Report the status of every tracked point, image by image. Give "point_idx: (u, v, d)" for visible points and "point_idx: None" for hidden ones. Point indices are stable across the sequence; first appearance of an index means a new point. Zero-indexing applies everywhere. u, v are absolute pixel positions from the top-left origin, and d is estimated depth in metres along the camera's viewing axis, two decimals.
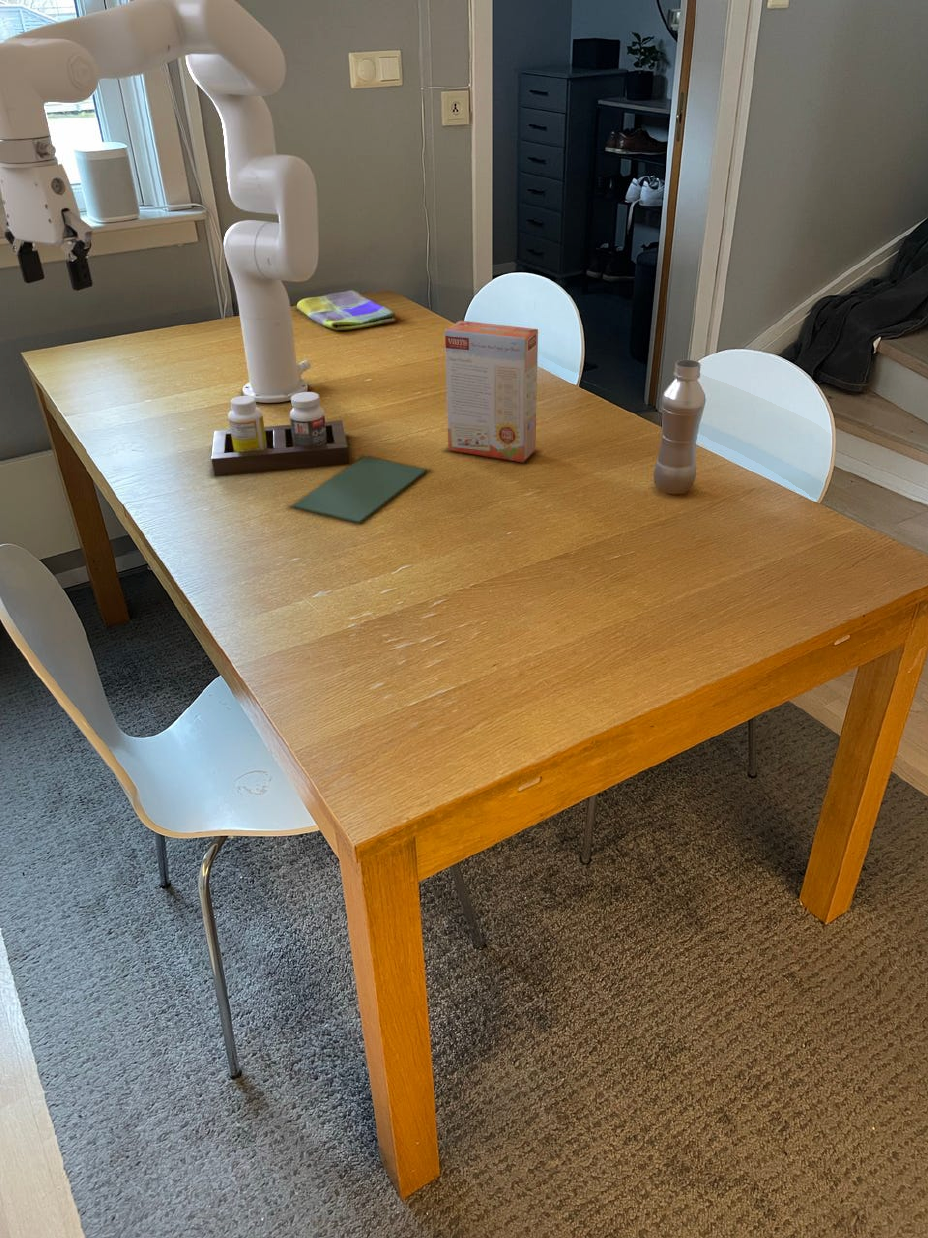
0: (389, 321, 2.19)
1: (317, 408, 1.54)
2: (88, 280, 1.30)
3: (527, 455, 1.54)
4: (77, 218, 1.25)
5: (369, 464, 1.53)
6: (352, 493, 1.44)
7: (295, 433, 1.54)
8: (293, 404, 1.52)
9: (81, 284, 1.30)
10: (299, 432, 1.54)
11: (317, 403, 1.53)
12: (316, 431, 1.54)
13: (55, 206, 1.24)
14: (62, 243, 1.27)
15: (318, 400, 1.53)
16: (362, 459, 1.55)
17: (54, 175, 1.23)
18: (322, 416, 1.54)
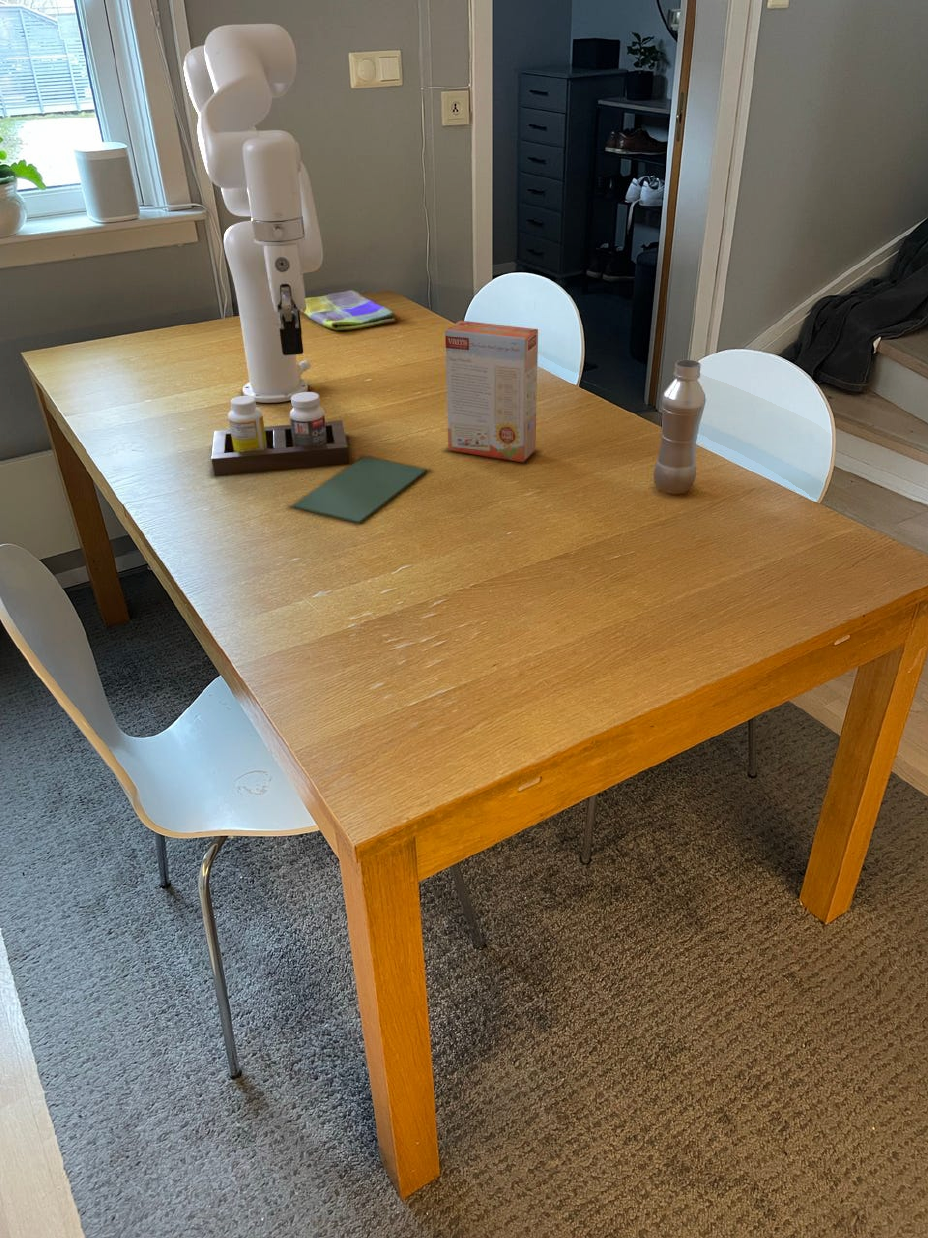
0: (389, 321, 2.19)
1: (317, 408, 1.54)
2: (295, 348, 1.42)
3: (527, 455, 1.54)
4: (287, 295, 1.37)
5: (369, 464, 1.53)
6: (352, 493, 1.44)
7: (295, 433, 1.54)
8: (293, 404, 1.52)
9: (290, 350, 1.43)
10: (299, 432, 1.54)
11: (317, 403, 1.53)
12: (316, 431, 1.54)
13: (275, 281, 1.37)
14: (278, 313, 1.40)
15: (318, 400, 1.53)
16: (362, 459, 1.55)
17: (280, 254, 1.36)
18: (322, 416, 1.54)
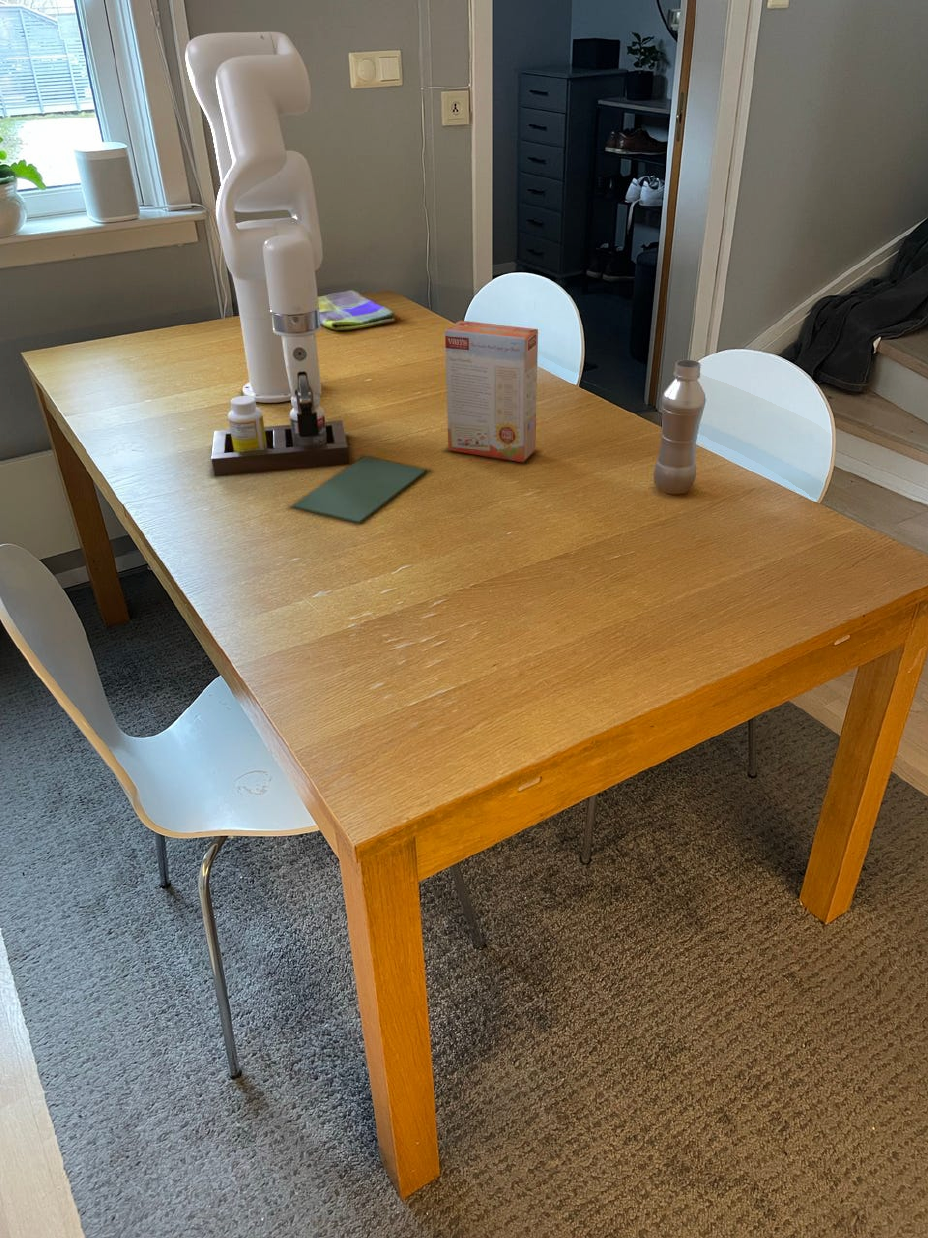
0: (389, 321, 2.19)
1: (317, 408, 1.54)
2: (311, 431, 1.52)
3: (527, 455, 1.54)
4: (305, 387, 1.46)
5: (369, 464, 1.53)
6: (352, 493, 1.44)
7: (295, 433, 1.54)
8: (293, 404, 1.52)
9: None
10: None
11: (317, 403, 1.53)
12: None
13: (292, 369, 1.45)
14: None
15: (318, 400, 1.53)
16: (362, 459, 1.55)
17: (298, 345, 1.44)
18: (322, 416, 1.54)
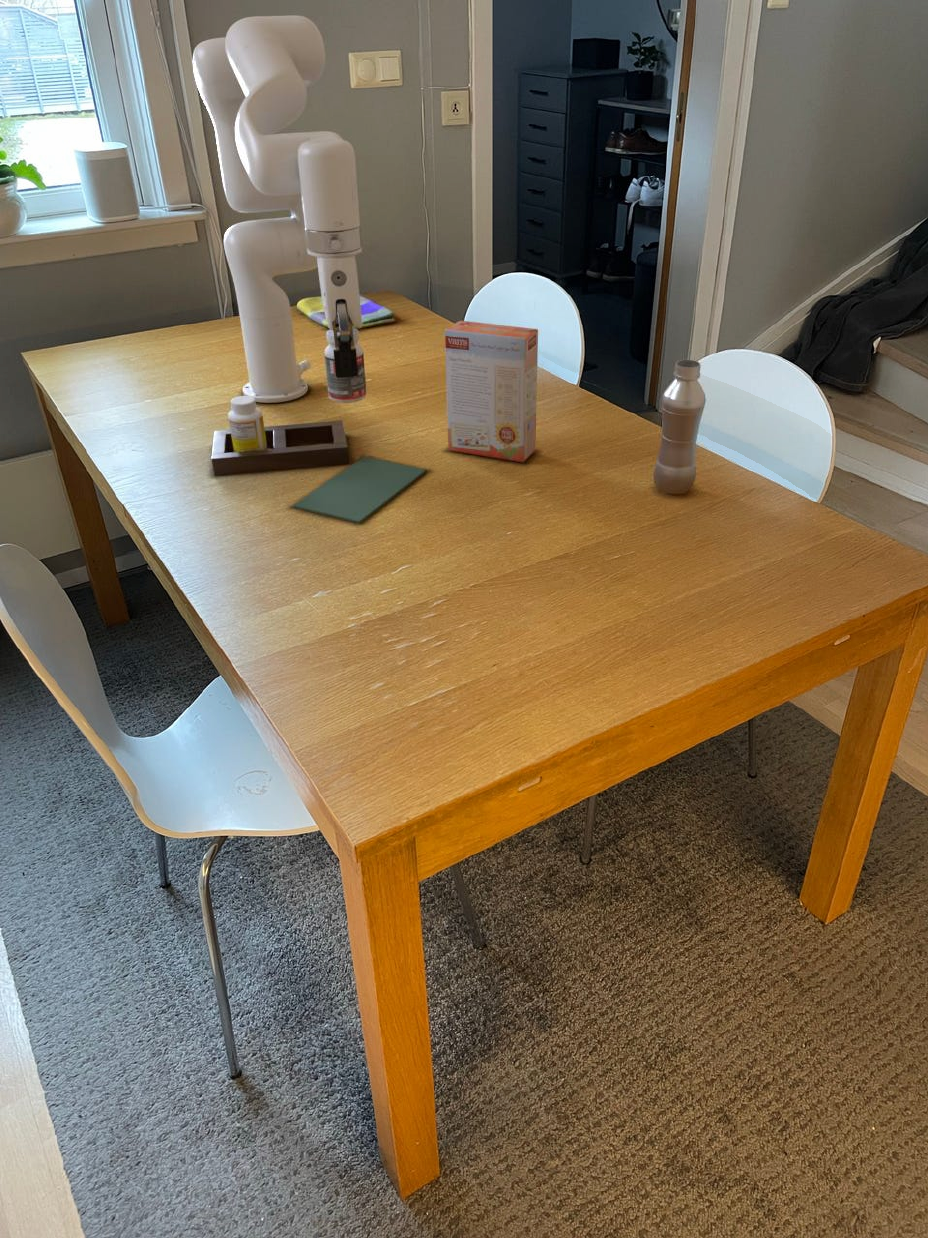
0: (389, 321, 2.19)
1: (356, 345, 1.35)
2: (349, 371, 1.33)
3: (527, 455, 1.54)
4: (344, 317, 1.27)
5: (369, 464, 1.53)
6: (352, 493, 1.44)
7: (331, 373, 1.36)
8: (329, 340, 1.34)
9: (344, 373, 1.34)
10: (335, 372, 1.35)
11: (356, 339, 1.34)
12: None
13: (330, 296, 1.27)
14: (333, 333, 1.31)
15: (357, 335, 1.34)
16: (362, 459, 1.55)
17: (337, 267, 1.25)
18: (361, 354, 1.35)
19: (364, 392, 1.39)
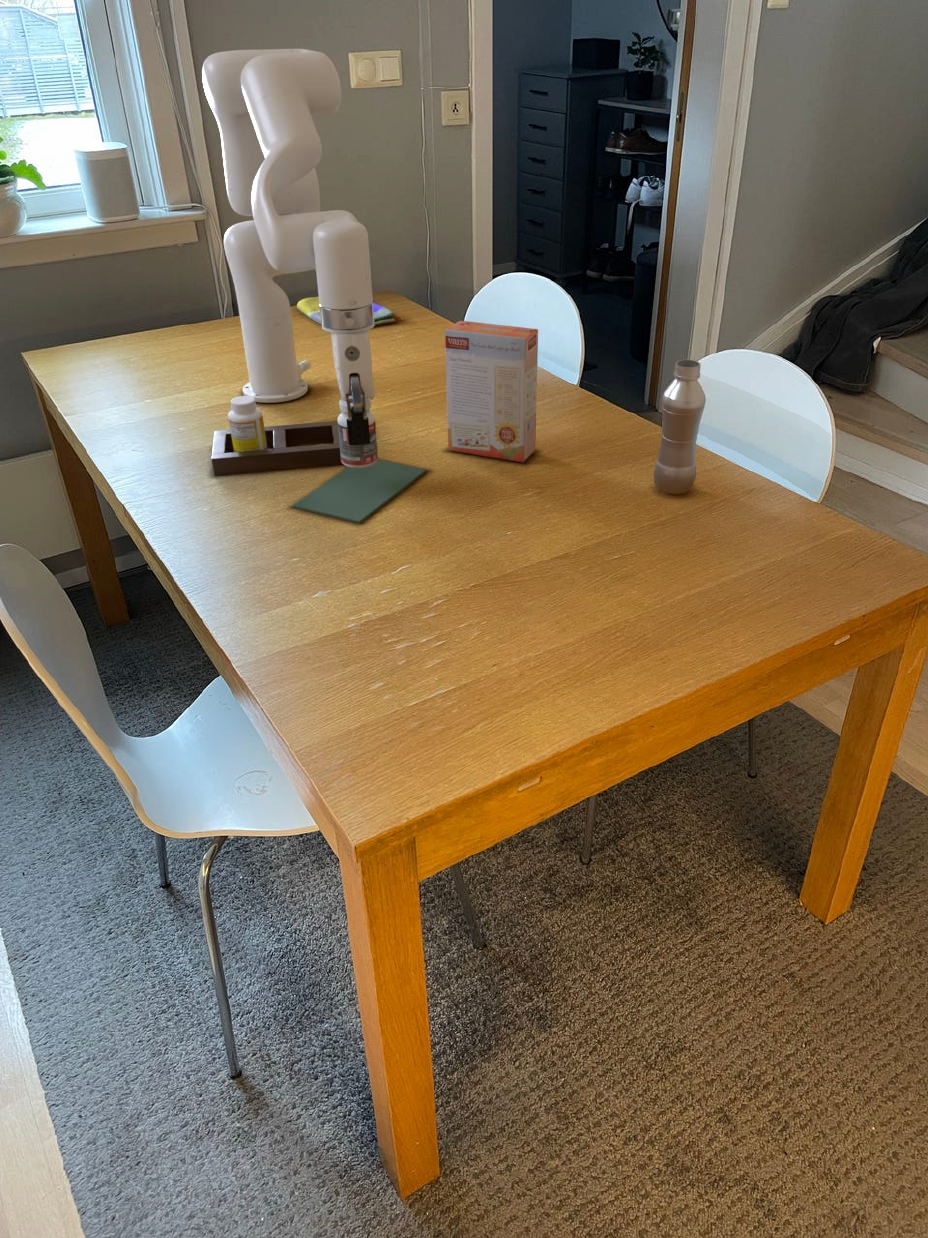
0: (389, 321, 2.19)
1: (368, 413, 1.39)
2: (362, 439, 1.38)
3: (527, 455, 1.54)
4: (357, 391, 1.31)
5: None
6: (352, 493, 1.44)
7: (344, 440, 1.40)
8: (342, 409, 1.38)
9: (356, 441, 1.38)
10: None
11: (368, 408, 1.38)
12: None
13: (344, 370, 1.31)
14: None
15: (369, 404, 1.38)
16: None
17: (350, 343, 1.29)
18: (373, 422, 1.40)
19: (376, 457, 1.43)
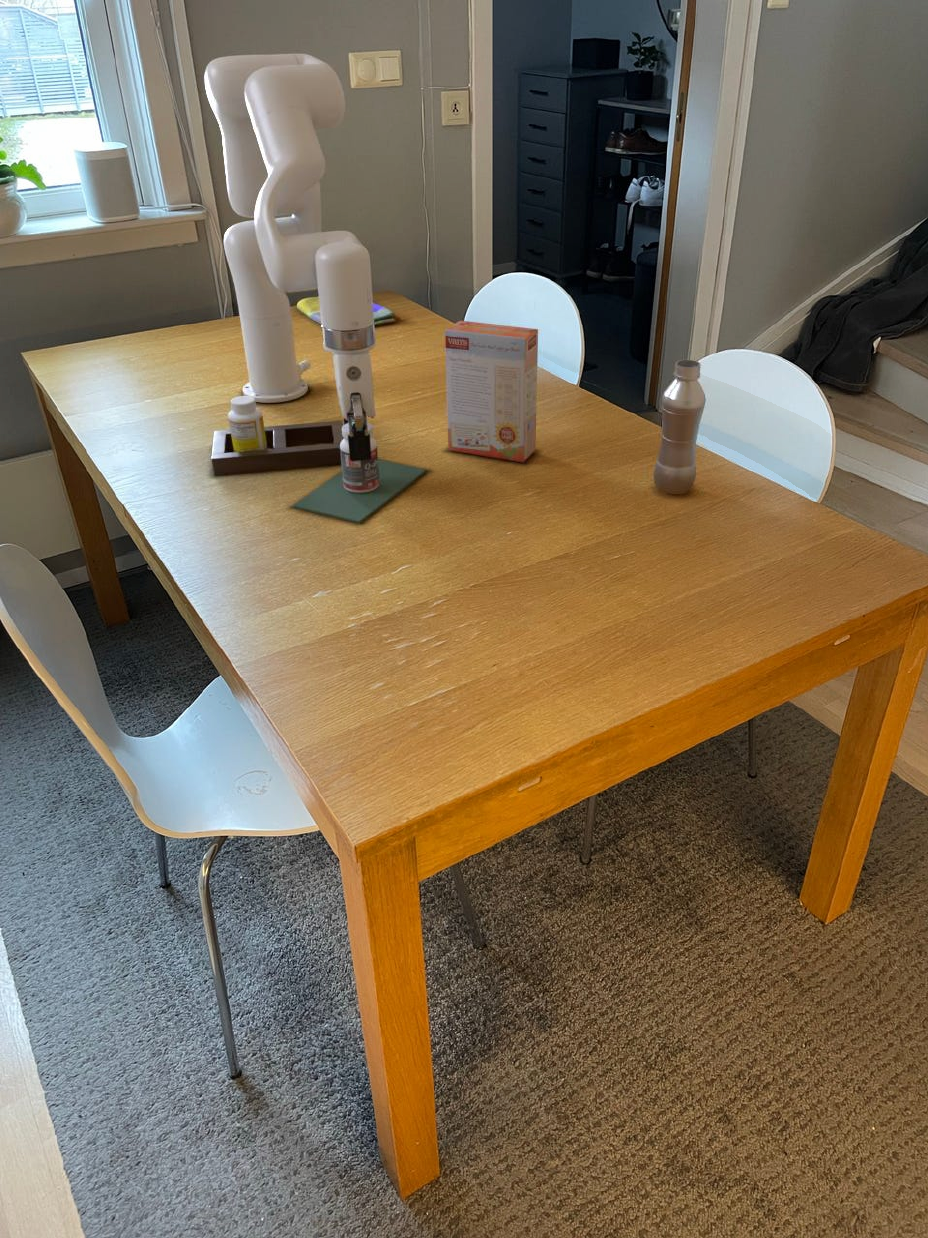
0: (389, 321, 2.19)
1: (370, 439, 1.41)
2: (363, 455, 1.38)
3: (527, 455, 1.54)
4: (358, 404, 1.32)
5: None
6: (352, 493, 1.44)
7: (346, 466, 1.42)
8: (344, 435, 1.40)
9: (358, 456, 1.38)
10: (350, 465, 1.42)
11: (370, 434, 1.40)
12: (369, 464, 1.42)
13: (345, 390, 1.32)
14: (347, 420, 1.35)
15: (371, 431, 1.41)
16: None
17: (352, 363, 1.31)
18: (375, 448, 1.42)
19: (377, 482, 1.45)
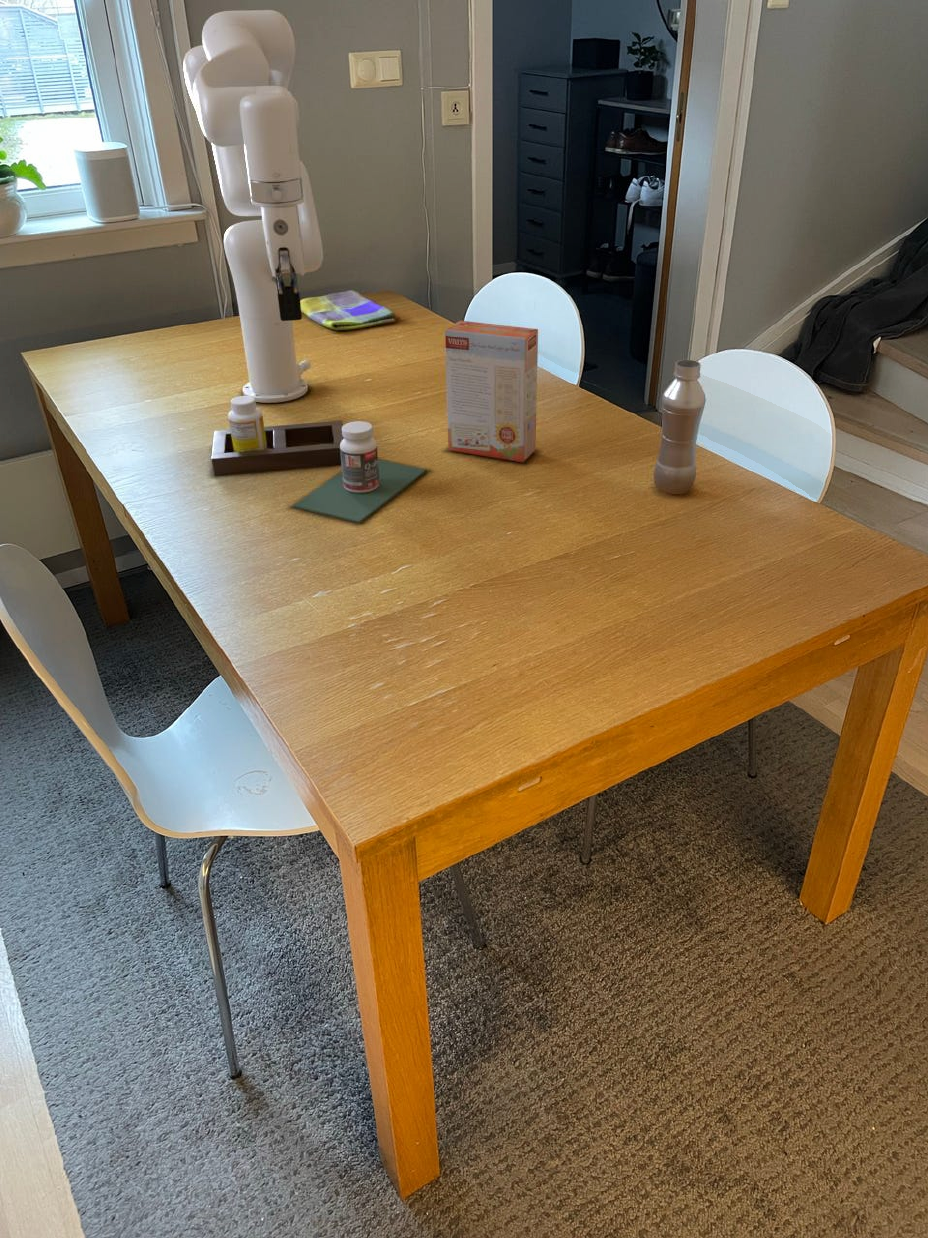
0: (389, 321, 2.19)
1: (370, 439, 1.41)
2: (293, 314, 1.39)
3: (527, 455, 1.54)
4: (286, 259, 1.34)
5: None
6: (352, 493, 1.44)
7: (346, 466, 1.42)
8: (344, 435, 1.40)
9: None
10: (350, 465, 1.42)
11: (370, 434, 1.40)
12: (369, 464, 1.42)
13: (273, 244, 1.34)
14: (277, 277, 1.37)
15: (371, 431, 1.41)
16: None
17: (279, 216, 1.32)
18: (375, 448, 1.42)
19: (377, 482, 1.45)
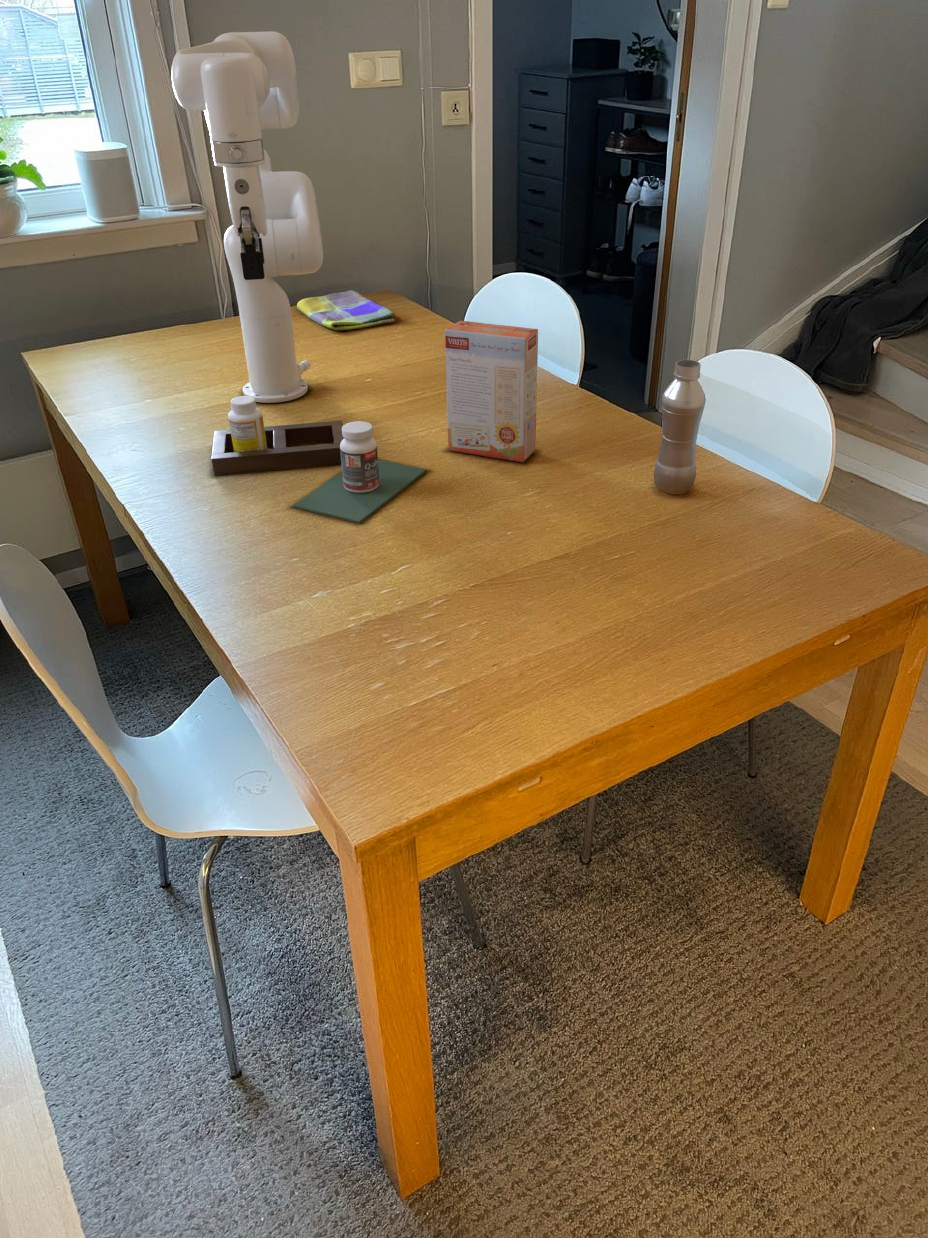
0: (389, 321, 2.19)
1: (370, 439, 1.41)
2: (256, 273, 1.43)
3: (527, 455, 1.54)
4: (247, 217, 1.38)
5: None
6: (352, 493, 1.44)
7: (346, 466, 1.42)
8: (344, 435, 1.40)
9: (251, 275, 1.44)
10: (350, 465, 1.42)
11: (370, 434, 1.41)
12: (369, 464, 1.42)
13: (235, 203, 1.38)
14: (239, 236, 1.41)
15: (371, 431, 1.41)
16: None
17: (239, 176, 1.37)
18: (375, 448, 1.42)
19: (377, 482, 1.45)
